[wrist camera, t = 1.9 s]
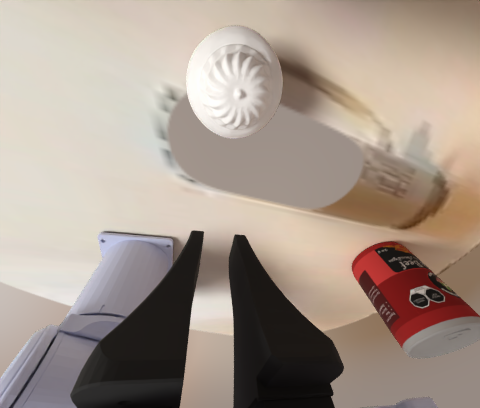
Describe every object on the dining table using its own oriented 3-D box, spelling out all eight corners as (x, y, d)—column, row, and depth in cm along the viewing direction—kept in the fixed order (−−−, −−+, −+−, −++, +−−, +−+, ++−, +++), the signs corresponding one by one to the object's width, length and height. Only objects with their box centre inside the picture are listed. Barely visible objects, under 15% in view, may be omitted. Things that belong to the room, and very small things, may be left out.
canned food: (414, 248, 29) (505, 329, 20) (373, 280, 32) (433, 362, 23) (380, 233, 26) (465, 317, 17) (339, 269, 30) (391, 355, 21)
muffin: (260, 132, 18) (280, 161, 12) (190, 120, 17) (175, 145, 11) (280, 46, 15) (321, 29, 9) (195, 24, 14) (177, -12, 8)
